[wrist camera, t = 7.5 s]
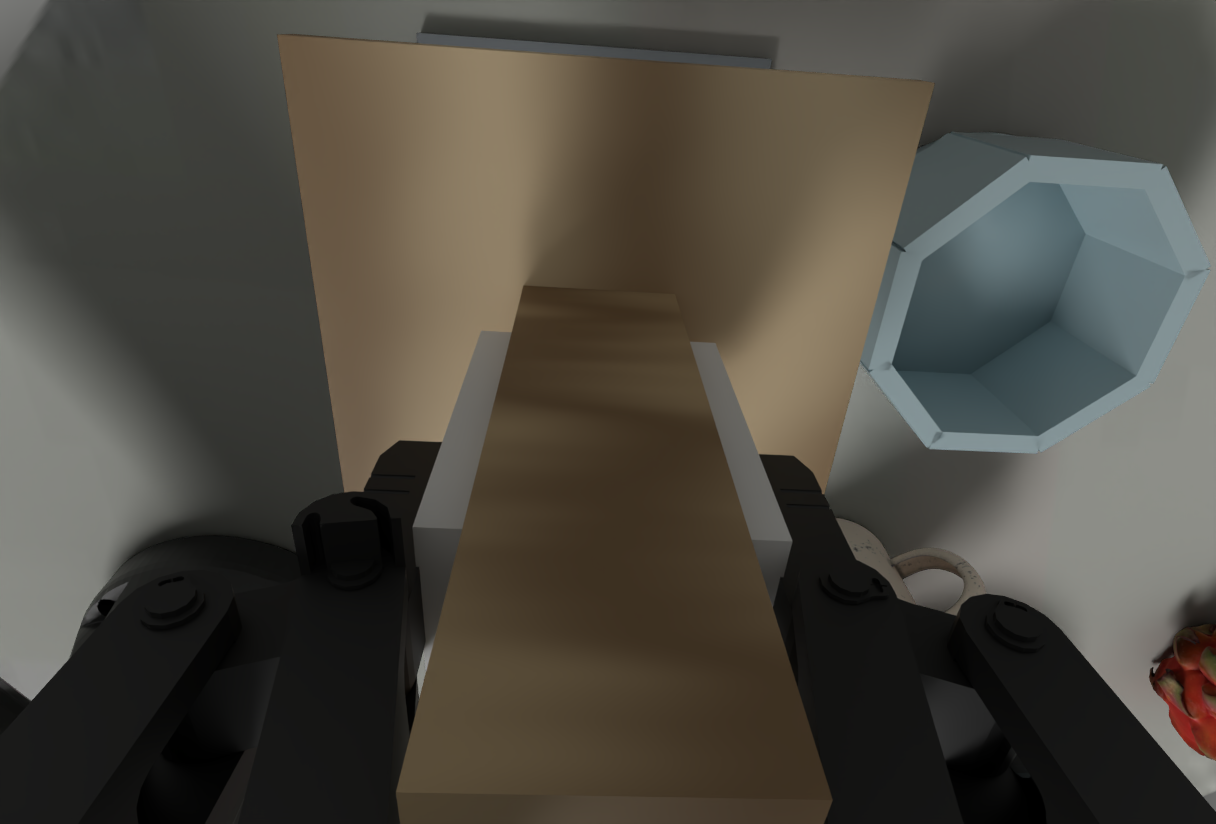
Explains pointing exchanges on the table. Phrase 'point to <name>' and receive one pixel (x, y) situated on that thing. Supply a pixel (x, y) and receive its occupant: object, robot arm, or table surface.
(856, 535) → the teacup with lid
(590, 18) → the table surface
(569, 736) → the oak lid
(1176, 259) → the ceramic bowl
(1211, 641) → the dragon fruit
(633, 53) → the slate mat
